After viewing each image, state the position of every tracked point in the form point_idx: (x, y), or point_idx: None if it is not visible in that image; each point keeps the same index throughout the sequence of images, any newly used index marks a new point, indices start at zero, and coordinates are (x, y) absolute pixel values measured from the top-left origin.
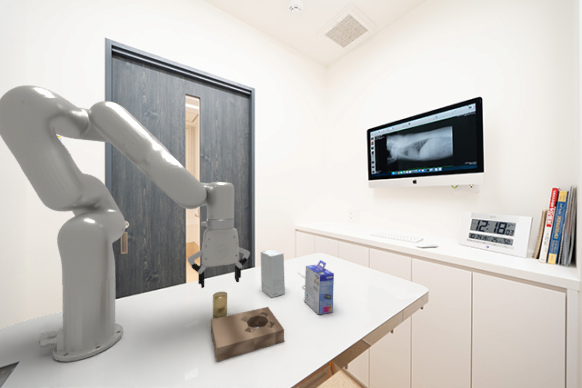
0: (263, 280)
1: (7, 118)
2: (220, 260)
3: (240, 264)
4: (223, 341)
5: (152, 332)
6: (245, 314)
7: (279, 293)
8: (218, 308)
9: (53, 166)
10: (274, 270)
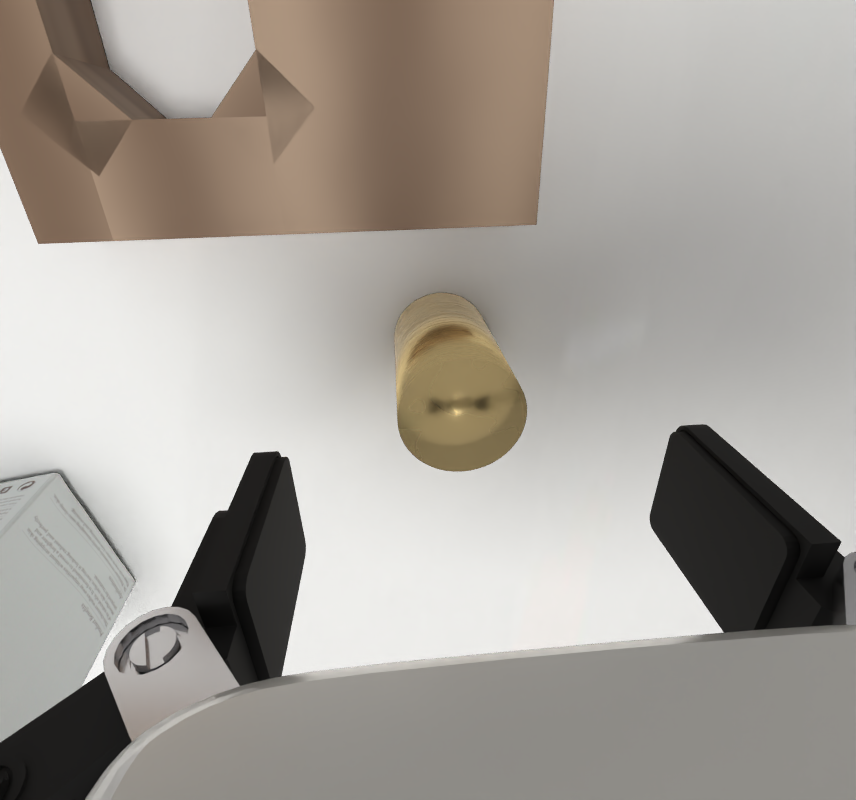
0: (75, 625)
1: None
2: (700, 796)
3: (132, 683)
4: None
5: (805, 330)
6: (257, 190)
7: None
8: (470, 327)
9: None
10: None
